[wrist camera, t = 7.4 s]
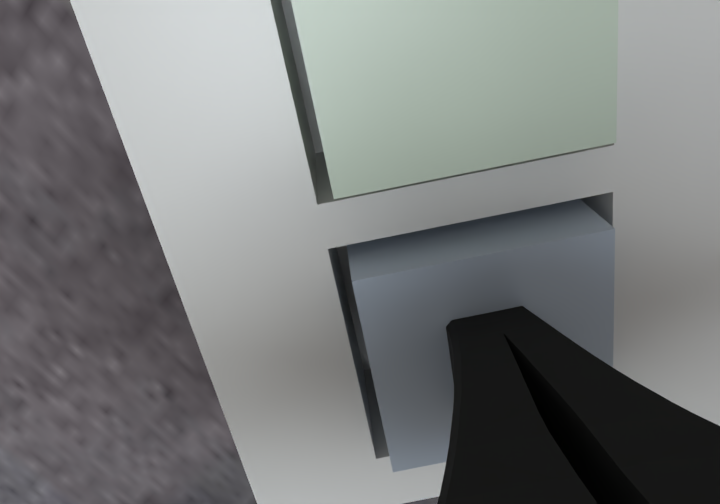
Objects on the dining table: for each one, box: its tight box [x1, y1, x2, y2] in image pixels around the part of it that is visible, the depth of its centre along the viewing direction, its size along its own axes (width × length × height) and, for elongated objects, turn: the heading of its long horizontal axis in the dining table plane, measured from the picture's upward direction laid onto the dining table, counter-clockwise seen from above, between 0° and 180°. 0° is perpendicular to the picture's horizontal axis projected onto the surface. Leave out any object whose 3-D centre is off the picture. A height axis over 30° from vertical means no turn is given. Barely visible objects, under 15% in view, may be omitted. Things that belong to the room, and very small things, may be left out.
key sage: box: [291, 0, 618, 199], centre depth 9 cm, size 4×4×3 cm
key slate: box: [347, 199, 615, 472], centre depth 11 cm, size 4×4×3 cm
